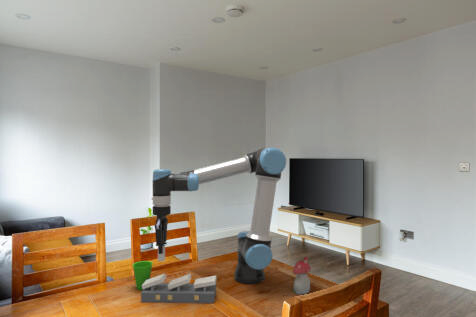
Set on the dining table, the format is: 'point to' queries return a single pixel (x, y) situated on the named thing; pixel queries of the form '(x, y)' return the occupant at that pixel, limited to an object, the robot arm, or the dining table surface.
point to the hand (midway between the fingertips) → (161, 260)
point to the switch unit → (178, 294)
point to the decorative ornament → (301, 277)
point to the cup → (142, 272)
